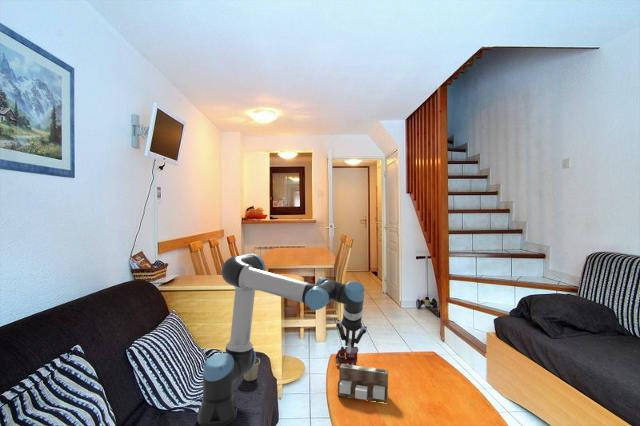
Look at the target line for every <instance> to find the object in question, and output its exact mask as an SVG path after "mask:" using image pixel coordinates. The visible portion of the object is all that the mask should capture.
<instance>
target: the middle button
mask: <svg viewBox="0 0 640 426" xmlns="http://www.w3.org/2000/svg"><path fill="white" fill-rule="evenodd" d="M367 396H368V387H367V386H360V385H356V389H355V398H357V399H364V400H367ZM357 399H356V400H357Z"/></svg>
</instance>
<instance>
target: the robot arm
mask: <svg viewBox="0 0 640 426" xmlns="http://www.w3.org/2000/svg"><path fill="white" fill-rule="evenodd" d="M220 273H221V277H222V279H223V280H224V282H225V283H226V284H228V285H229V286H233V287H234V288H235V290H234V298H233V299H234V300H233V309H232V319H231V328H230V336H229V337H230V340H229V341H228V342H227V343H226V345H225V352H222V353H221V352H220V353H218V354H213V355H211V356H209V357H208V358H207V359H206V360H205V362H204V364H203V370H202V402H201V404H200V408H199V410H198V413H197V423H198V425H199V426H229V425H230V424H231V423H233V422H234V421H235V420H236V418H237V415H238V409H237V405H236V402H235V398H234V393H233V392H234V384H235V382H236V381H238V380H239V379H241V377H244V374H246V373H247V372H249V371H250V369H251V368H252V367H253V366H254V364H255V361H256V358H257V354H256V351H255V348H254V344H253V343H252V342H251V336H252V335H251V334H252V324H253V323H252V322H253V315H254V313H253V312H254V304H255V295H256V290H257V291H260V292H263V293H267V294H271V295H273V296H274V295H275V296H278V297H281V298H284V299H288V300H292V301H294V302H299V303H301V304H305V305H306V306H307V307H308V308H309V309H311V311H318V310H320V309H323V308H325V307H326V306H328V304H329V303H331V302H336V303H339V304H342V305H343V309H342V310H343V313H342V319H341V320H339V319H337V321H336V323H335V324H336V325H335V326H336V328H337V329H338V333H339V337H340V338H341V340H342V341H345V342H344V345H345V347H347V352H348V353H350V352H351V347H352V348H353V347H355V344H356V345H358V344H359V342H360V341H361V339H362V337H363V336H364V334H366V333H367V330H368V329H367V326H365V325H363V324H362V317H363V305H364V299H365V287H364V285H363V283H361V282H359V281H356V280H353V281H351V280H350V281H348V282H347V283H343V282H340V281H335V280H333V279H330V278H327V277H318V278H317V280H316V282H315V284H314V283H310V282H306V281H303V280H299V279H297V278H296V279H295V278H291V277H287V276H284V275H281V274H276V273H272V272H269V271H266V264H265V261H264V259H262V257H261V255H259V254H256V253H245V254H241V255H236V256H235V255H234V256H231V257H229V258H228V259H226V260H225V261H224V263H223V264H222V266H221V272H220ZM359 330H360V331H359ZM350 331H351V337H350ZM357 331H359V332H358V334H357ZM356 334H357V336H356Z"/></svg>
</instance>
